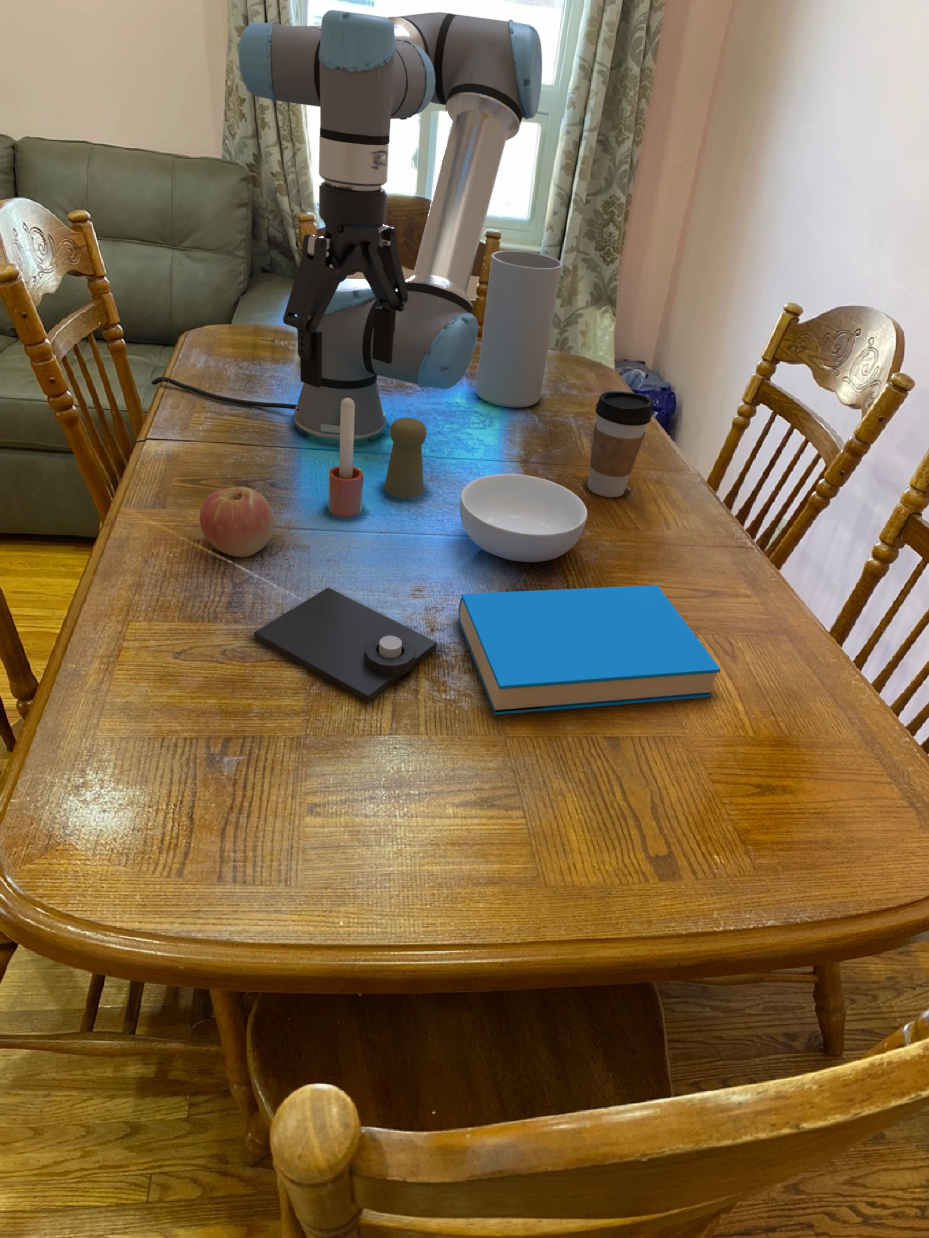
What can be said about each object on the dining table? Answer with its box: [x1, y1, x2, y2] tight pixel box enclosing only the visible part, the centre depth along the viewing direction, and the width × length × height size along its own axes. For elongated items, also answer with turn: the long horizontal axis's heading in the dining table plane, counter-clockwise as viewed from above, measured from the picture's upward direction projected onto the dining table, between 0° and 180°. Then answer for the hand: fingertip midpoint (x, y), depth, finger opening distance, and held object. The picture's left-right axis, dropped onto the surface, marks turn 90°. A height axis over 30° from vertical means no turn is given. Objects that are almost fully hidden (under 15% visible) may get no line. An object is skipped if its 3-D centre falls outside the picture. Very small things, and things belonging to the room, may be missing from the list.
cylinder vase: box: [475, 250, 563, 409], centre depth 152 cm, size 12×12×25 cm
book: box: [458, 584, 721, 715], centre depth 93 cm, size 17×4×25 cm
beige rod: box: [338, 398, 355, 479], centre depth 110 cm, size 2×2×16 cm
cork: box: [384, 417, 427, 499], centre depth 119 cm, size 6×6×11 cm
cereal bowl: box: [459, 473, 588, 563], centre depth 110 cm, size 17×17×7 cm
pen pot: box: [327, 465, 364, 518], centre depth 113 cm, size 5×5×6 cm
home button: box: [379, 636, 402, 659], centre depth 87 cm, size 2×2×1 cm
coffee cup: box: [587, 390, 654, 498], centre depth 126 cm, size 8×8×15 cm
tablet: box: [253, 587, 438, 704], centre depth 90 cm, size 17×12×2 cm
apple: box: [199, 486, 275, 558], centre depth 102 cm, size 9×9×8 cm
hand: (348, 372), depth 104 cm, fingers open, 13 cm apart
